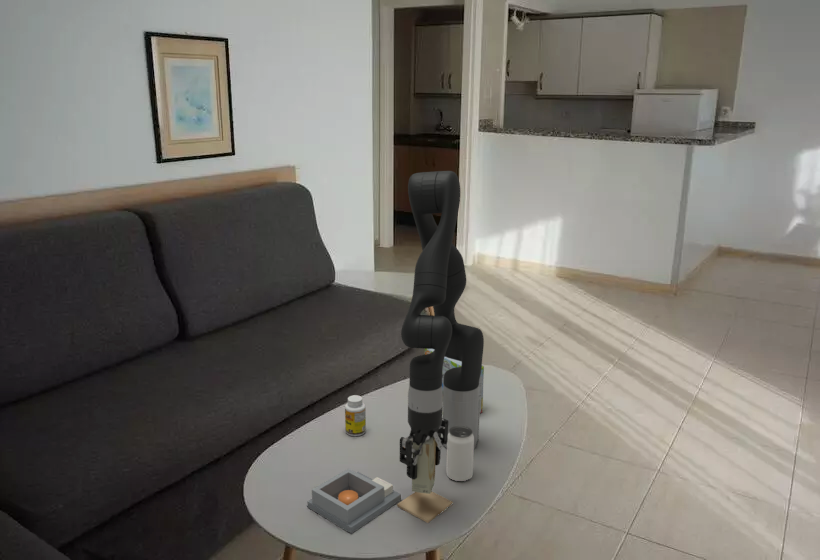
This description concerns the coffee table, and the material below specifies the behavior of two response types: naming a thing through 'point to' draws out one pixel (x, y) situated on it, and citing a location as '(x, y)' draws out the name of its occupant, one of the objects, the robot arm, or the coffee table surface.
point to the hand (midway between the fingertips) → (423, 470)
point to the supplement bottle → (355, 416)
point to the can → (460, 453)
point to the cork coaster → (424, 505)
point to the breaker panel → (361, 511)
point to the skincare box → (425, 467)
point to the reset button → (348, 496)
